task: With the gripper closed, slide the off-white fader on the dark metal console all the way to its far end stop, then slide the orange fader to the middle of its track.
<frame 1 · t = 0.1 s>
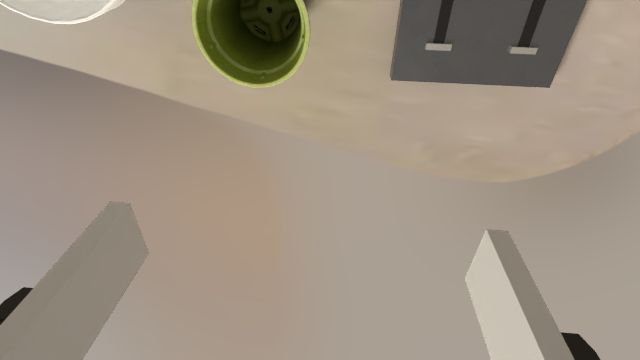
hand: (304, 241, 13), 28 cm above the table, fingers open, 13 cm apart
plant pot: (271, 9, 35), on the table
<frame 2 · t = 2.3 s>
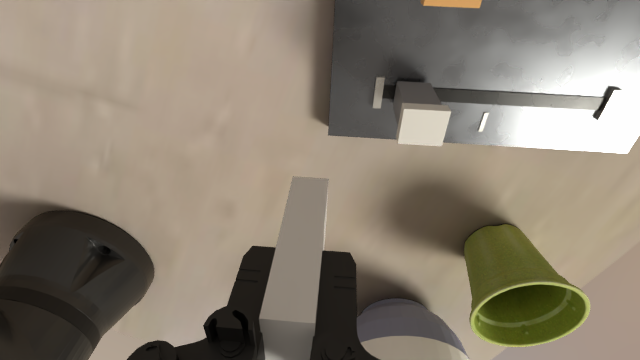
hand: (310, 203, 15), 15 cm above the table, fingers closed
plant pot: (493, 242, 37), on the table
bowl: (394, 317, 46), on the table
fader white: (416, 110, 24), point 5 cm above the table, slide at 0.0 cm
console: (502, 36, 25), on the table
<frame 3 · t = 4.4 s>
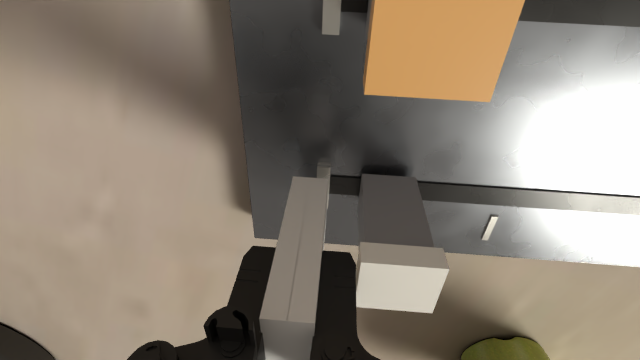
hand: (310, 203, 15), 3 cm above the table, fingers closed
plant pot: (500, 352, 27), on the table
fader orange: (418, 16, 9), point 5 cm above the table, slide at 0.0 cm
fader white: (391, 233, 14), point 5 cm above the table, slide at 0.5 cm, touching gripper
console: (522, 102, 15), on the table
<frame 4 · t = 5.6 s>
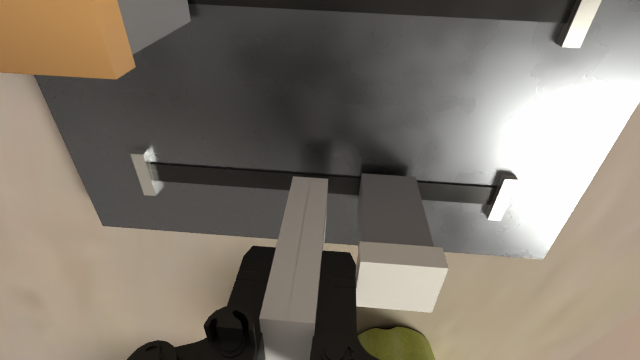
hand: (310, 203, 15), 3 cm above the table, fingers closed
plant pot: (390, 343, 27), on the table
fader orange: (105, 0, 10), point 5 cm above the table, slide at 0.0 cm
fader white: (390, 233, 14), point 5 cm above the table, slide at 9.1 cm, touching gripper
console: (325, 90, 15), on the table
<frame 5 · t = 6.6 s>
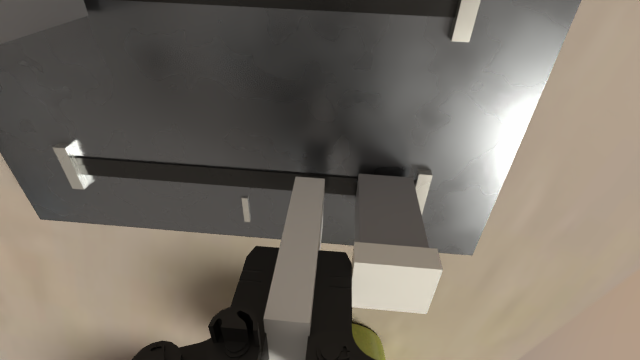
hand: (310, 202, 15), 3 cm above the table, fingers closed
plant pot: (343, 339, 27), on the table
fader white: (386, 233, 14), point 5 cm above the table, slide at 12.7 cm, touching gripper
console: (242, 85, 16), on the table
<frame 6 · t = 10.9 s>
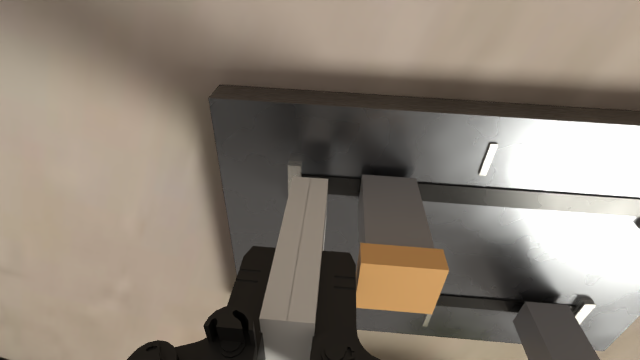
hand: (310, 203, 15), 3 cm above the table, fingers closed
fader orange: (391, 234, 14), point 5 cm above the table, slide at 1.9 cm, touching gripper
fader white: (561, 358, 18), point 5 cm above the table, slide at 12.1 cm
console: (445, 233, 20), on the table
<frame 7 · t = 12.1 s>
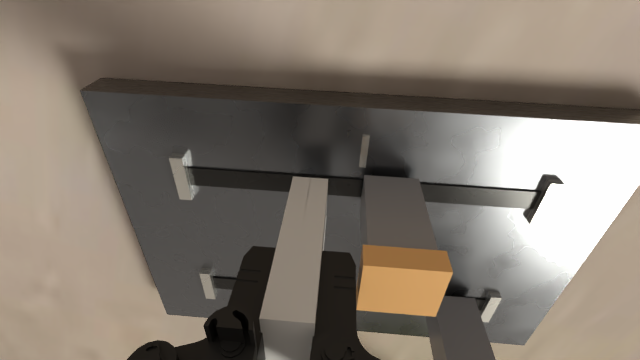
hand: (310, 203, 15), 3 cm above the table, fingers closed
fader orange: (393, 235, 14), point 5 cm above the table, slide at 7.3 cm, touching gripper
fader white: (460, 351, 18), point 5 cm above the table, slide at 12.1 cm
console: (352, 227, 20), on the table
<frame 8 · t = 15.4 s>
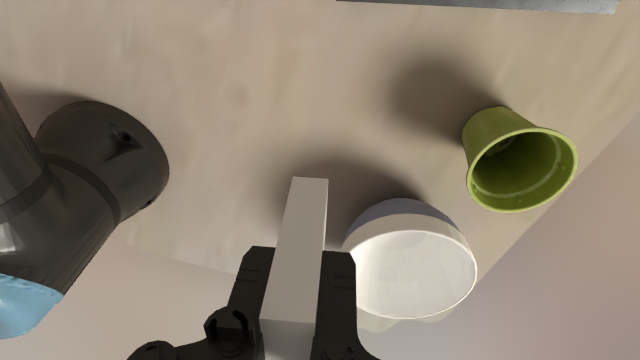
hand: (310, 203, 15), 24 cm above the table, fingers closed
plant pot: (489, 129, 39), on the table
bowl: (396, 222, 48), on the table
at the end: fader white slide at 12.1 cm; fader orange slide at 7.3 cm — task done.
